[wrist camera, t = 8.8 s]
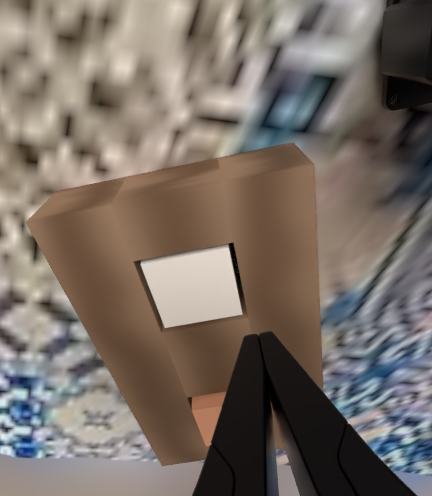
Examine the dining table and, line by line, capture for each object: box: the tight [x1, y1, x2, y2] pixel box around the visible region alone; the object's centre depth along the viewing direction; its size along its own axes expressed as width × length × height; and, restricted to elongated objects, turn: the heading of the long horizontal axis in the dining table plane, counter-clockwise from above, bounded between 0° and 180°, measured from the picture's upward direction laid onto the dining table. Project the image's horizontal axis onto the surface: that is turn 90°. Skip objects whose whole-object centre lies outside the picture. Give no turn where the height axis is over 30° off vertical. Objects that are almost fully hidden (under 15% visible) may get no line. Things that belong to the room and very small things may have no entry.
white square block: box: [140, 243, 243, 328], centre depth 20 cm, size 5×5×4 cm
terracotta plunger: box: [192, 391, 226, 446], centre depth 26 cm, size 5×5×4 cm
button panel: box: [26, 143, 323, 466], centre depth 24 cm, size 14×24×4 cm, turn 11°
